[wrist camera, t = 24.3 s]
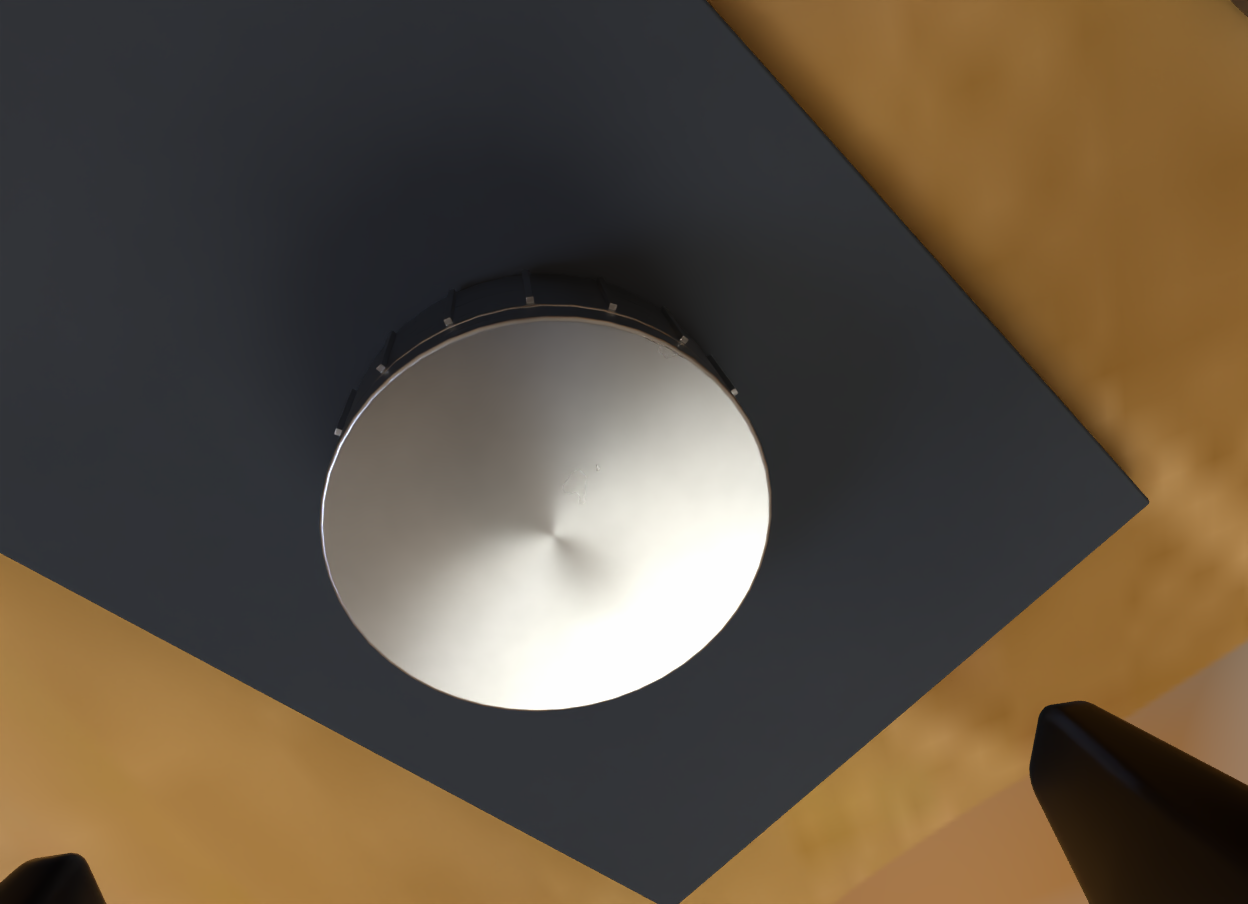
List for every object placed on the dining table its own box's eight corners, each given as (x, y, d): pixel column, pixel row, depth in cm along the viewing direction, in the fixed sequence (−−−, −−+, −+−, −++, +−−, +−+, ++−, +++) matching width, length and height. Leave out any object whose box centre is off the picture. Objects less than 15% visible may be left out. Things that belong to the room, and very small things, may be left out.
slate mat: (-249, 392, 13) (-280, 406, 13) (288, -458, 10) (276, -487, 10) (666, 890, 21) (670, 912, 20) (1132, 488, 18) (1152, 502, 17)
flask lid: (703, 627, 17) (736, 714, 15) (341, 620, 16) (317, 715, 14) (769, 290, 14) (820, 334, 12) (337, 250, 13) (305, 292, 11)
